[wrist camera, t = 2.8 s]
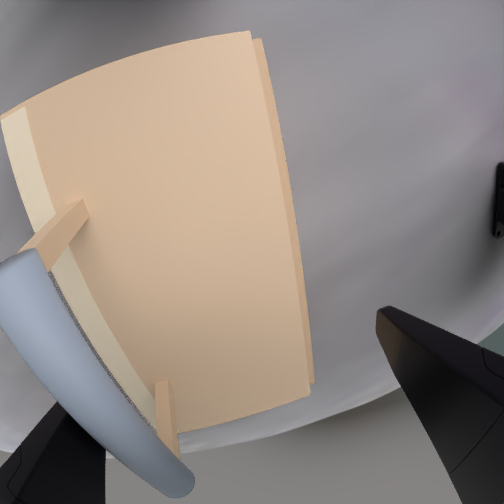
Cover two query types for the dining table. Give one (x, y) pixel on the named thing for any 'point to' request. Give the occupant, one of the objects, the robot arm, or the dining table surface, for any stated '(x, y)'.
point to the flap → (155, 251)
